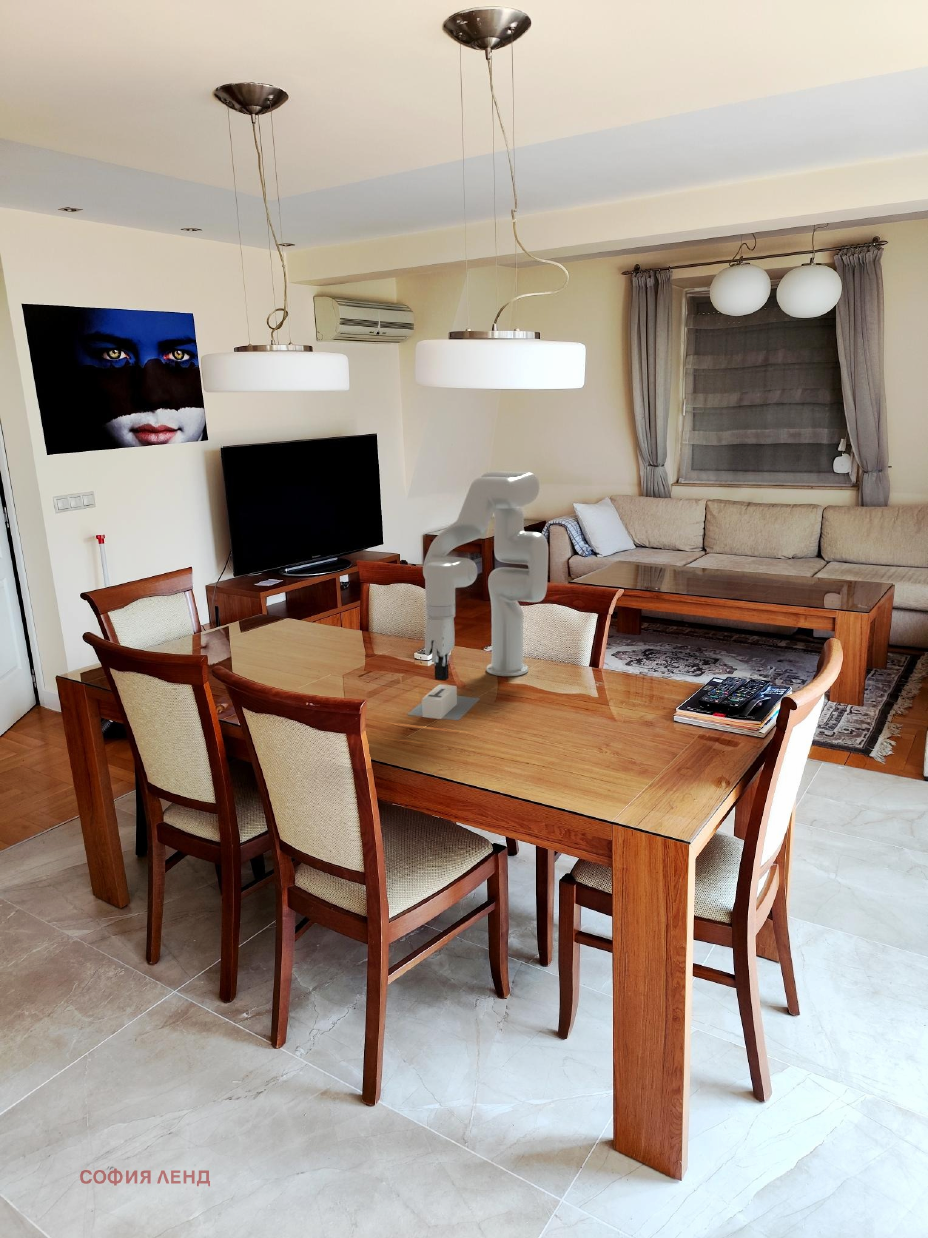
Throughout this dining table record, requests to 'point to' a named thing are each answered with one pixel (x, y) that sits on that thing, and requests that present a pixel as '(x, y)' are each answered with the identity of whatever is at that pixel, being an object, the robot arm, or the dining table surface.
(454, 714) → the mat
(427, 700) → the letter block
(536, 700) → the dining table surface
